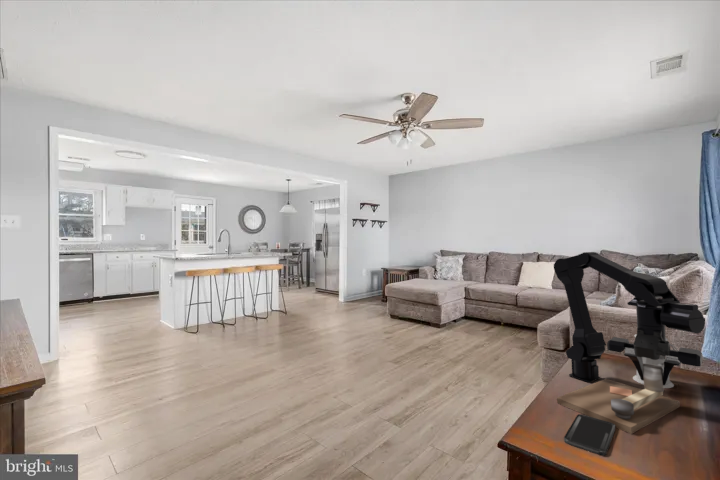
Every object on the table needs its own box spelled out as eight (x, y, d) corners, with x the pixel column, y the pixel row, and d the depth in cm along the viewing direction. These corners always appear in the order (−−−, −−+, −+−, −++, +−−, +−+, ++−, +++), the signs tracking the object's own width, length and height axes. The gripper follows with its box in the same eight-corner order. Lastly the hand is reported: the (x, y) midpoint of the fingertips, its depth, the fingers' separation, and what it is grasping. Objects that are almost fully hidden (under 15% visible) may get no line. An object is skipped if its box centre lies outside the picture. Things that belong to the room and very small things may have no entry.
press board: (557, 403, 93) (556, 394, 93) (606, 383, 104) (606, 375, 104) (631, 434, 77) (630, 423, 77) (679, 406, 89) (679, 397, 89)
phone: (562, 439, 75) (578, 413, 86) (563, 444, 75) (578, 417, 86) (605, 453, 69) (616, 423, 80) (606, 459, 69) (616, 428, 80)
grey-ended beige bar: (628, 417, 79) (626, 384, 79) (607, 409, 83) (606, 378, 83) (667, 397, 88) (666, 367, 89) (647, 390, 92) (646, 362, 92)
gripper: (600, 324, 92) (602, 381, 91) (696, 337, 77) (699, 404, 77) (611, 317, 99) (613, 370, 99) (701, 328, 85) (704, 389, 84)
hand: (653, 382), depth 90 cm, fingers closed on grey-ended beige bar, 4 cm apart
